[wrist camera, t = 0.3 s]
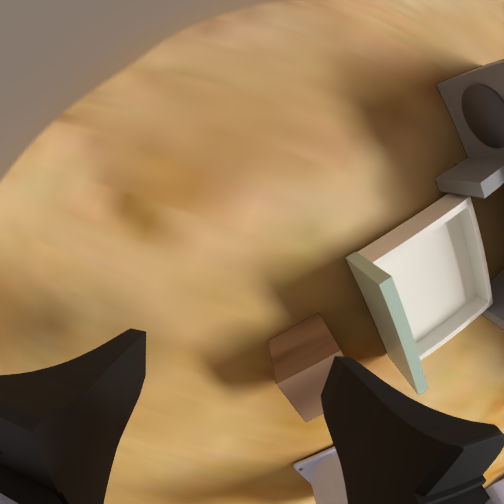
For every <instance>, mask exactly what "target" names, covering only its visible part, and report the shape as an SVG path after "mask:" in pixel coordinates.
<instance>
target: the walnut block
mask: <svg viewBox="0 0 504 504" xmlns="http://www.w3.org/2000/svg"><path fill="white" fill-rule="evenodd" d="M268 344H269V349H270V354H271V360H272V365H273V370H274V375H275V380H276V384H277V386H278V387H279V388H280V390H281V391H282V392H283V394H284V395H285V396H286V398H287V399H288V400H289V402H290V403H291V404H292V405H293V407H294V408H295V409H296V411H297V412H298V413H299V415H300V416H301V417H302V418H303V420H304V421H305V422H308V421H310V420H312V419H314V418H316V417H318V416H320V415H322V414H324V413H323V408H322V402H321V393H322V391H323V388H324V385H325V383H326V380H327V377H328V374H329V371H330V368H331V366H332V363H333V360H334V357H335V356H343V354H342V352H341V350H340V348H339V347H338V345H337V343H336V341H335V340H334V338H333V336H332V334H331V333H330V331H329V329H328V327H327V326H326V324H325V322H324V321H323V319H322V317H321V315H320V314H319V313H317V314H315V315H313V316H312V317H310V318H308V319H306V320H305V321H303V322H301V323H299V324H297V325H296V326H294V327H292V328H290V329H288V330H286V331H285V332H283V333H281V334H279V335H277V336H275V337H273V338H271V339H270V340H268ZM343 357H344V356H343Z"/></svg>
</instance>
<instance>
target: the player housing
mask: <svg viewBox="0 0 504 504" xmlns="http://www.w3.org/2000/svg"><path fill="white" fill-rule="evenodd" d="M436 86H437V88H438V90H439V92H440V94H441V96H442V98H443V100H444V102H445V104H446V107H447V109H448V111H449V113H450V115H451V118H452V120H453V122H454V124H455V127H456V129H457V131H458V134H459V136H460V139H461V141H462V144H463V147H464V149H465V152H466V154H467V157H468V158H466V159H464V160H463V161H461V162H460V163H458V164H457V165H455V166H454V167H452V168H451V169H449V170H447V171H446V172H444V173H443V174H441V175H440V176H438V177H436V178H435V181H436V184H437V186H438V189H439V191H441V192H448V193H455V194H461V195H467V196H474V197H479V198H486V197H487V196H489V195H490V194H491V193H492V192H494V191H495V190H496V189H497V188H499V187H500V186H501V185H502V184H504V59H502V60H499V61H496V62H493V63H490V64H486V65H483V66H481V67H478V68H475V69H473V70H470V71H468V72H465V73H463V74H460V75H458V76H455V77H453V78H450V79H448V80H445V81H443V82H441V83H438V84H436ZM490 285H491V292H492V300H493V304H492V305H491V306H489V307H488V308H487V309H486V310H485V311H484V312H483V313H482V314H481V315H482V316H484V317H485V318H487V319H488V320H490V321H491V322H493V323H494V324H496V325H497V326H499V327H500V328H501V329H503V330H504V269H503V270H501V271H500V272H499V273H498V274H497V275H496V276H495V277H494V278H493V279H492V280H490Z"/></svg>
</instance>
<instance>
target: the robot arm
mask: <svg viewBox="0 0 504 504" xmlns="http://www.w3.org/2000/svg"><path fill="white" fill-rule="evenodd" d="M145 375H146V332H145V331H140V330H135V329H129V330H127V331H125V332H124V333H122V334H120V335H118V336H117V337H115V338H113V339H112V340H110V341H108V342H107V343H105V344H103V345H101V346H100V347H98V348H96V349H94V350H92V351H90V352H88V353H86V354H84V355H82V356H80V357H77V358H75V359H73V360H70V361H68V362H65V363H62V364H59V365H56V366H53V367H49V368H45V369H41V370H37V371H33V372H27V373H21V374H12V375H0V504H103V503H104V498H105V493H106V488H107V484H108V480H109V476H110V471H111V467H112V464H113V460H114V457H115V453H116V449H117V446H118V444H119V441H120V438H121V436H122V434H123V431H124V429H125V427H126V425H127V422H128V420H129V418H130V416H131V414H132V411H133V409H134V407H135V405H136V403H137V400H138V398H139V396H140V392H141V389H142V386H143V382H144V379H145ZM321 402H322V408H323V413H324V417H325V420H326V423H327V426H328V429H329V432H330V435H331V438H332V441H333V443H334V446H333V447H331V448H329V449H327V450H325V451H323V452H320V453H318V454H316V455H313V456H311V457H309V458H306V459H304V460H302V461H299V462H297V463H295V464H294V465H293V466H294V469H295V470H296V471H297V472H298V473H299V474H300V475H301V476H303V477H304V478H305V479H306V480H307V481H308V482H309V483H310V484H311V485H312V489H313V493H314V497H315V501H316V504H504V479H502V480H500V481H499V482H497V483H495V484H493V485H491V486H490V487H488V488H487V489H486V490H485V489H484V488H483V486H482V485H483V484H484V483H485V482H486V479H485V478H484V476H483V474H484V472H485V471H486V470H487V469H488V468H489V466H490V465H491V464H492V463H493V461H494V460H495V459H496V458H497V456H498V455H499V453H500V452H501V450H502V448H503V446H504V434H503V433H502V432H501V431H500V430H499V428H498V427H497V426H495V425H493V424H486V423H479V422H473V421H468V420H464V419H461V418H457V417H453V416H450V415H447V414H444V413H442V412H439V411H436V410H434V409H431V408H429V407H427V406H425V405H423V404H421V403H419V402H417V401H415V400H413V399H411V398H409V397H407V396H406V395H404V394H402V393H401V392H399V391H398V390H396V389H394V388H393V387H391V386H390V385H389V384H387V383H386V382H384V381H383V380H381V379H380V378H379V377H377V376H376V375H374V374H373V373H372V372H370V371H369V370H368V369H366V368H365V367H364V366H362V365H361V364H359V363H358V362H356V361H355V360H353V359H352V358H350V357H343V356H335V357H334V360H333V363H332V366H331V368H330V371H329V374H328V377H327V380H326V383H325V385H324V388H323V391H322V393H321Z"/></svg>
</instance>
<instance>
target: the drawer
mask: <svg viewBox="0 0 504 504" xmlns="http://www.w3.org/2000/svg"><path fill="white" fill-rule="evenodd" d="M345 258H346V260H347V262H348V265H349V267H350V269H351V271H352V273H353V275H354V277H355V280H356V282H357V284H358V286H359V288H360V290H361V293H362V295H363V297H364V299H365V302H366V304H367V306H368V308H369V311H370V313H371V315H372V318H373V320H374V322H375V325H376V327H377V329H378V332H379V334H380V337H381V339H382V341H383V344H384V346H385V349H386V351H387V354H388V356H389V358H390V359H391V360H392V362H393V363H394V364H395V365H396V367H397V368H398V369H399V371H400V372H401V373H402V374H403V376H404V377H405V378H406V380H407V381H408V382H409V384H410V385H411V386H412V388H413V389H414V390H415V391H416V393H417V394H418V395H420V394H422V393H423V392H425V391H426V390H428V386H427V382H426V378H425V375H424V371H423V367H422V364H421V360H422V359H424V358H425V357H427V356H428V355H429V354H431V353H432V352H434V351H435V350H436V349H438V348H439V347H440V346H442V345H443V344H444V343H446V342H447V341H448V340H450V339H451V338H452V337H454V336H455V335H456V334H457V333H459V332H460V331H461V330H462V329H464V328H465V327H466V326H467V325H469V324H470V323H471V322H472V321H473V320H475V319H476V318H477V317H478V316H479V315H480V314H482V313H483V312H484V311H485V310H486V309H487V308H488V307H489V306H491V305H492V304H493V300H492V292H491V285H490V279H489V273H488V268H487V262H486V257H485V252H484V247H483V243H482V239H481V234H480V230H479V226H478V222H477V218H476V215H475V211H474V208H473V204H472V201H471V197H470V196H465V195H459V194H452V193H448V194H447V195H445V196H444V197H442V198H441V199H439V200H438V201H436V202H435V203H433V204H432V205H430V206H429V207H427V208H426V209H424V210H423V211H421V212H420V213H418V214H416V215H415V216H413V217H412V218H410V219H409V220H407V221H406V222H404V223H403V224H401V225H399V226H398V227H396V228H395V229H393V230H392V231H390V232H388V233H387V234H385V235H384V236H382V237H380V238H379V239H377V240H376V241H374V242H372V243H371V244H369V245H368V246H366V247H364V248H363V249H361V250H359V251H358V252H356V251H355V252H353V253H352V254H350V255H348V256H347V257H345Z"/></svg>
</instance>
